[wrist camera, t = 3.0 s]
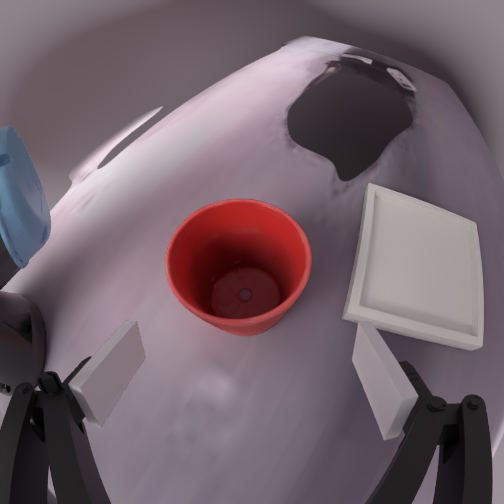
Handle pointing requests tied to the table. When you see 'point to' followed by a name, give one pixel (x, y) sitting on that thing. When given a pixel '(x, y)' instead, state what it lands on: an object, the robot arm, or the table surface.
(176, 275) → the flower pot
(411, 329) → the drip tray
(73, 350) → the table surface
